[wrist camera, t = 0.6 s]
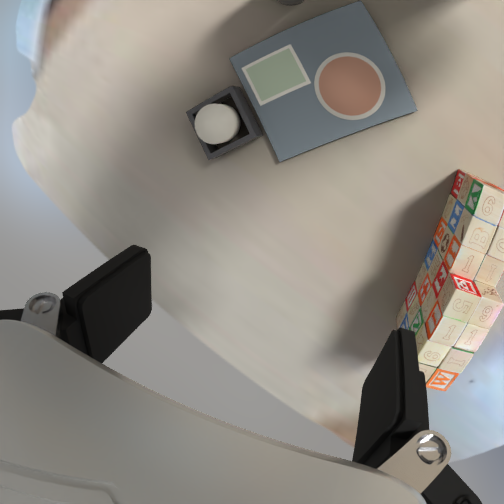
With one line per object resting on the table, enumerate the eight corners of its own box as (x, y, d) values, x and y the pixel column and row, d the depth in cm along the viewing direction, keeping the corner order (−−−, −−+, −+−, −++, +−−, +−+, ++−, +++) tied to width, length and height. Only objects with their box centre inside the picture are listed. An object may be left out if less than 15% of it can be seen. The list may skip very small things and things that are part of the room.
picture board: (360, 2, 26) (360, 0, 25) (416, 110, 29) (417, 110, 28) (231, 59, 33) (228, 58, 32) (281, 161, 37) (279, 162, 36)
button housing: (239, 87, 34) (232, 85, 32) (262, 135, 36) (256, 136, 34) (195, 112, 37) (186, 112, 35) (217, 157, 39) (208, 160, 37)
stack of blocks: (456, 166, 30) (496, 190, 19) (498, 186, 29) (546, 217, 18) (395, 318, 40) (399, 382, 29) (433, 329, 39) (445, 393, 28)
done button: (230, 97, 34) (221, 96, 32) (247, 132, 35) (239, 133, 33) (198, 115, 36) (188, 115, 34) (214, 148, 37) (205, 151, 35)
